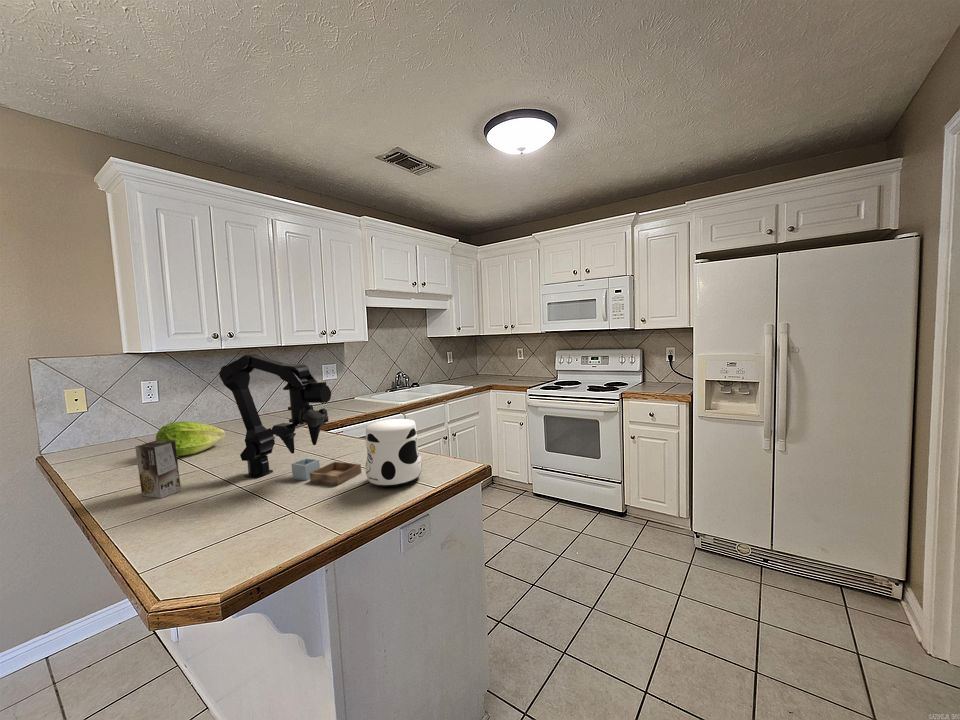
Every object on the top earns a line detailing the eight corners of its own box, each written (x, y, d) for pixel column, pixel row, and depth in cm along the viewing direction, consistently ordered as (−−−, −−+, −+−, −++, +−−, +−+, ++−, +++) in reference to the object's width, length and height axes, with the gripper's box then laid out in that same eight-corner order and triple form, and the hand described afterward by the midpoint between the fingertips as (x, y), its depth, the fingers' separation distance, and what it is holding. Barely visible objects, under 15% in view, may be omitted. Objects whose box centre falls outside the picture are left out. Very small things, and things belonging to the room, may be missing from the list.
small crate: (292, 478, 132) (291, 464, 132) (307, 472, 138) (305, 458, 137) (306, 480, 130) (305, 465, 129) (320, 473, 135) (319, 459, 135)
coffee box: (182, 490, 127) (176, 440, 126) (160, 498, 121) (154, 447, 120) (162, 488, 130) (156, 439, 129) (140, 496, 124) (134, 445, 123)
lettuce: (231, 450, 173) (230, 417, 175) (160, 459, 155) (160, 422, 157) (219, 450, 185) (219, 419, 186) (152, 458, 167) (152, 424, 168)
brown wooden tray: (310, 482, 128) (309, 472, 128) (335, 469, 139) (334, 461, 138) (337, 485, 124) (336, 476, 124) (361, 472, 134) (360, 464, 134)
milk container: (356, 483, 125) (351, 426, 124) (401, 466, 138) (397, 415, 136) (387, 496, 114) (382, 434, 112) (434, 477, 126) (430, 421, 125)
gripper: (294, 409, 120) (299, 460, 121) (338, 398, 137) (342, 442, 138) (268, 408, 124) (273, 457, 126) (314, 397, 141) (318, 440, 143)
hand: (303, 449), depth 133 cm, fingers open, 9 cm apart
